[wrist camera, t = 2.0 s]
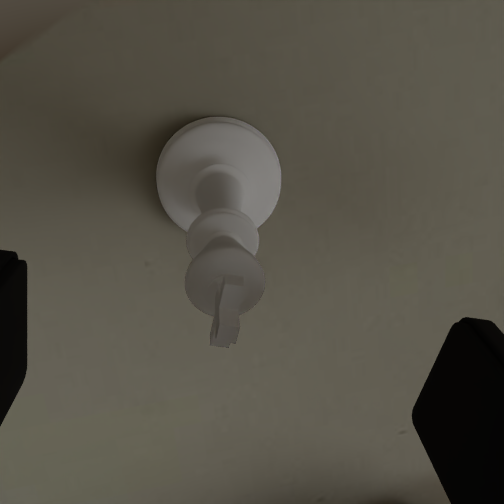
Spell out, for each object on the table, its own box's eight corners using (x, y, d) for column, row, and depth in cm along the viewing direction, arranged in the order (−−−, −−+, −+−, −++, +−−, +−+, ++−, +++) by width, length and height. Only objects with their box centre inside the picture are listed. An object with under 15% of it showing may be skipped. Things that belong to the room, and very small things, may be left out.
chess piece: (295, 131, 18) (374, 252, 9) (264, 244, 20) (306, 428, 12) (166, 103, 17) (121, 207, 9) (148, 224, 20) (98, 407, 11)
